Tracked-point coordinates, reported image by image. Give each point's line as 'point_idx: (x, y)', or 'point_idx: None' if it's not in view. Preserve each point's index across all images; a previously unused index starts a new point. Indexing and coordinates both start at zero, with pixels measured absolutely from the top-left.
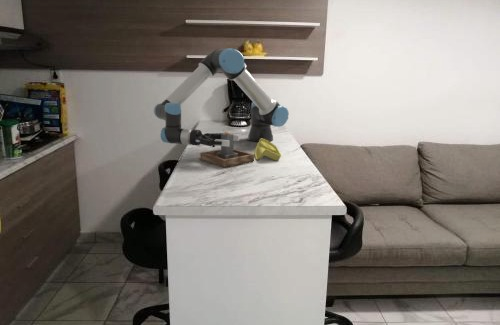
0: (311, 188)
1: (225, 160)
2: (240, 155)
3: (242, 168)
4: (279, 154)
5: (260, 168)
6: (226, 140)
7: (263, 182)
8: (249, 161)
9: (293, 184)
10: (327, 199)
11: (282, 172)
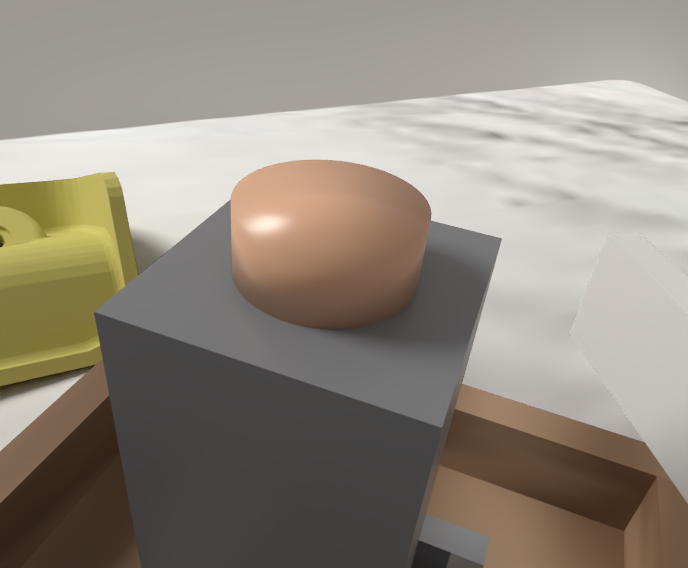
0: (548, 112)
1: None
2: (44, 519)
3: (502, 376)
4: (9, 189)
5: None
6: (668, 263)
7: (660, 215)
8: None
9: (558, 144)
10: (610, 91)
11: None
